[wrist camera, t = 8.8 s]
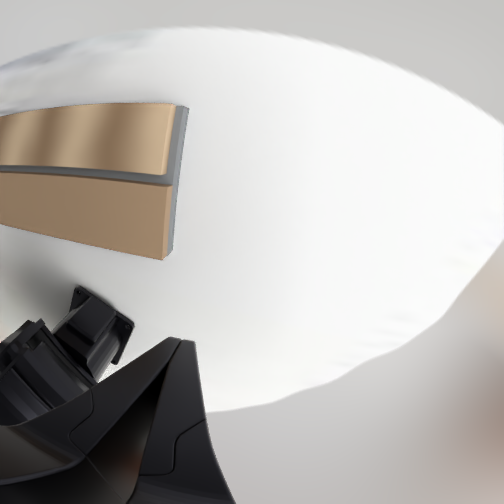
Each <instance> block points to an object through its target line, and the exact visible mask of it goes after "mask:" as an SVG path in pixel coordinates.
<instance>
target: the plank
mask: <svg viewBox="0 0 504 504" xmlns="http://www.w3.org/2000/svg"><path fill="white" fill-rule="evenodd" d="M175 111H176V106H175V105H173V104H167V103H106V104H88V105H75V106H64V107H55V108H48V109H40V110H34V111H27V112H22V113H16V114H11V115H6V116H1V117H0V165H33V166H59V167H77V168H92V169H105V170H116V171H127V172H137V173H146V174H155V175H163V174H166V173H167V165H168V157H169V149H170V142H171V136H172V129H173V123H174V117H175Z"/></svg>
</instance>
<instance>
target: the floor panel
mask: <svg viewBox="0 0 504 504" xmlns="http://www.w3.org/2000/svg"><path fill="white" fill-rule="evenodd" d="M188 113H189V108H186V107H184V106H176V111H175V117H174V123H173V129H172V136H171V142H170V149H169V157H168V165H167V173H166V174H163V175H155V174H146V173H137V172H127V171H116V170H105V169H92V168H77V167H59V166H33V165H0V224H2V225H6V226H10V227H14V228H18V229H22V230H26V231H31V232H35V233H39V234H43V235H48V236H52V237H56V238H60V239H65V240H69V241H74V242H78V243H83V244H87V245H92V246H96V247H101V248H105V249H110V250H115V251H119V252H124V253H129V254H134V255H138V256H143V257H148V258H153V259H158V260H163V259H164V258H165V257H166V256H168V254H169V253H170V252H171V251H172V249H173V235H174V223H175V212H176V202H177V192H178V183H179V175H180V166H181V159H182V151H183V144H184V138H185V131H186V125H187V119H188Z"/></svg>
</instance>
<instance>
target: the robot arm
mask: <svg viewBox="0 0 504 504" xmlns="http://www.w3.org/2000/svg"><path fill="white" fill-rule="evenodd" d="M79 291H80V292H79ZM128 325H129V326H130V327H129V326H128ZM134 327H135V326H134V323H133V322H132V321H130V320H129V319H127V318H126V317H124V316H123V315H121V314H120V313H118V312H117V311H115V310H114V309H112V308H111V307H109V306H108V305H106V304H105V303H103V302H102V301H101V300H99V299H98V298H96V297H95V296H94V295H92V294H91V293H89V292H88V291H87V290H85V289H84V288H83V287H81V286H78V287H76V288H75V290H74V294H73V298H72V302H71V307H70V311H69V314H68V315H67V316H66V317H65V318H64V319H63V320H62V321H61V322H60V323H59V324H58V325H57V326H56V327H55V328H54V329H53V330H52V331H51V332H50V331H49V329H48V328H47V327H46V326H45V323H44V321H43V320H42V319H40V320H38V321H37V322H36V323H35V322H32V321H30V320H27V321H26V322H25V323H24V324H23V325H22V326H21V327H20V328H19V329H18V330H16V331H15V332H14V333H13V334H11V335H10V336H9V337H7V338H6V339H5V340H3V341H2V342H1V343H0V504H236V503H235V500H234V498H233V496H232V494H231V492H230V490H229V487H228V485H227V483H226V481H225V478H224V476H223V474H222V471H221V469H220V466H219V464H218V461H217V458H216V455H215V453H214V450H213V447H212V443H211V439H210V434H209V429H208V424H207V419H206V413H205V407H204V401H203V395H202V388H201V381H200V375H199V367H198V360H197V352H196V344H195V342H194V341H191V340H185V339H183V340H181V339H180V338H175V337H168V338H166V339H165V340H163V341H162V342H160V343H159V344H157V345H156V346H154V347H153V348H151V349H150V350H148V351H147V352H145V353H144V354H142V355H141V356H139V357H138V358H136V359H135V360H133V361H132V362H130V363H129V364H127V365H126V366H124V367H122V368H121V369H119V370H118V371H116V372H115V373H113V374H112V375H110V376H109V377H107V378H106V379H104V380H102V381H101V382H99V383H98V381H99V379H100V378H101V376H102V374H103V373H104V371H105V370H106V368H107V367H108V365H109V364H110V362H111V363H112V364H114V365H117V364H118V362H119V361H120V358H121V356H122V354H123V352H124V349H125V347H126V345H127V343H128V341H129V338H130V336H131V334H132V332H133V330H134Z"/></svg>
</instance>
